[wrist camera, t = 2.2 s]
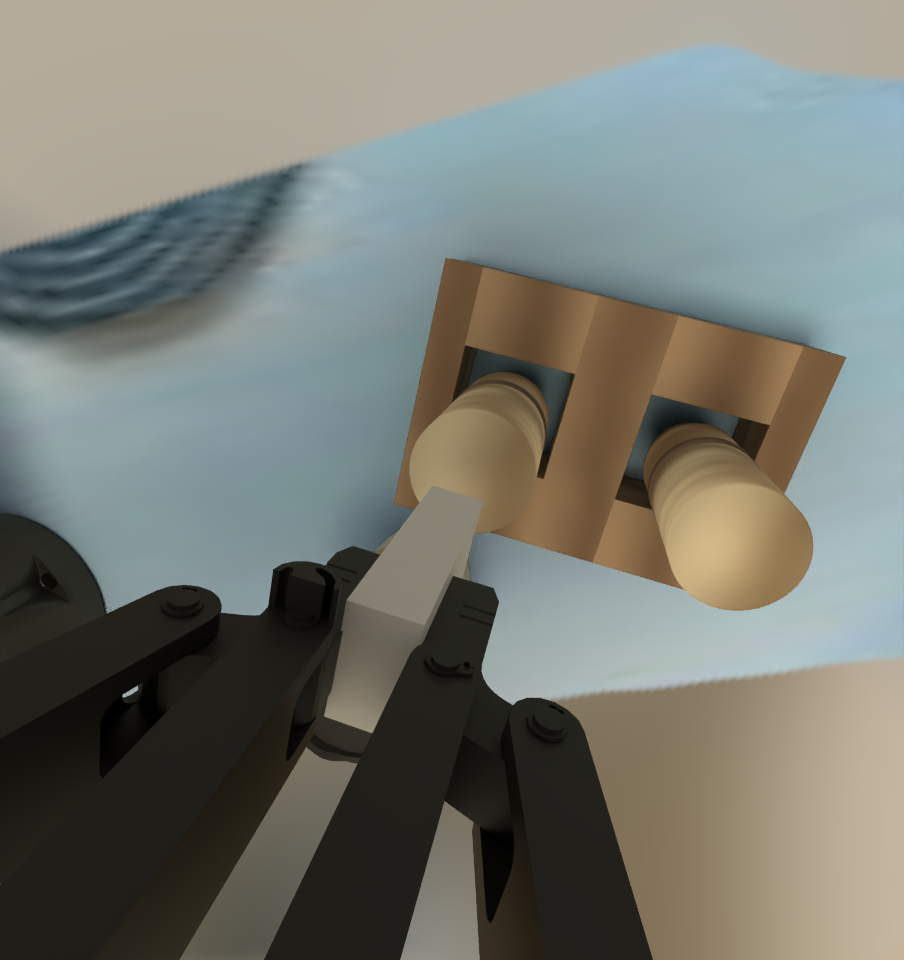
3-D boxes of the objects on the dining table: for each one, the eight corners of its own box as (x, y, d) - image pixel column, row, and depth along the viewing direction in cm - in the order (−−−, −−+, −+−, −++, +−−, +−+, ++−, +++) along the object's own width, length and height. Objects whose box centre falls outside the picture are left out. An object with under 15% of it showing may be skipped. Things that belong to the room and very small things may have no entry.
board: (415, 477, 41) (393, 503, 36) (463, 260, 36) (445, 258, 31) (715, 565, 39) (733, 604, 34) (809, 346, 34) (846, 357, 29)
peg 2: (626, 487, 34) (648, 588, 23) (656, 403, 33) (695, 469, 21) (714, 512, 34) (780, 628, 22) (749, 428, 32) (839, 508, 21)
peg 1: (455, 439, 35) (397, 513, 24) (475, 355, 34) (422, 394, 22) (537, 462, 35) (517, 549, 24) (562, 378, 33) (552, 430, 22)
